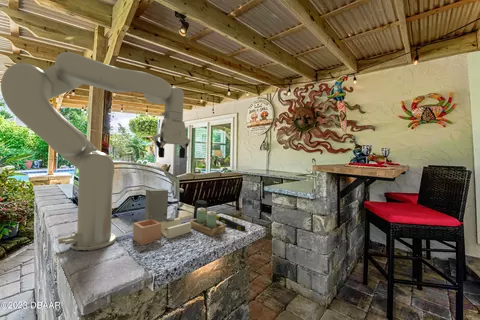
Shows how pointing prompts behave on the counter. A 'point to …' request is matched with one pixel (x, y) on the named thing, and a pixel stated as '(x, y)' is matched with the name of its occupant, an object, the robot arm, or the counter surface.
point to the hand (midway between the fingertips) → (172, 157)
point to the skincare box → (156, 204)
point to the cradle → (174, 227)
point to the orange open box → (146, 231)
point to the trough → (205, 229)
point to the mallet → (226, 221)
